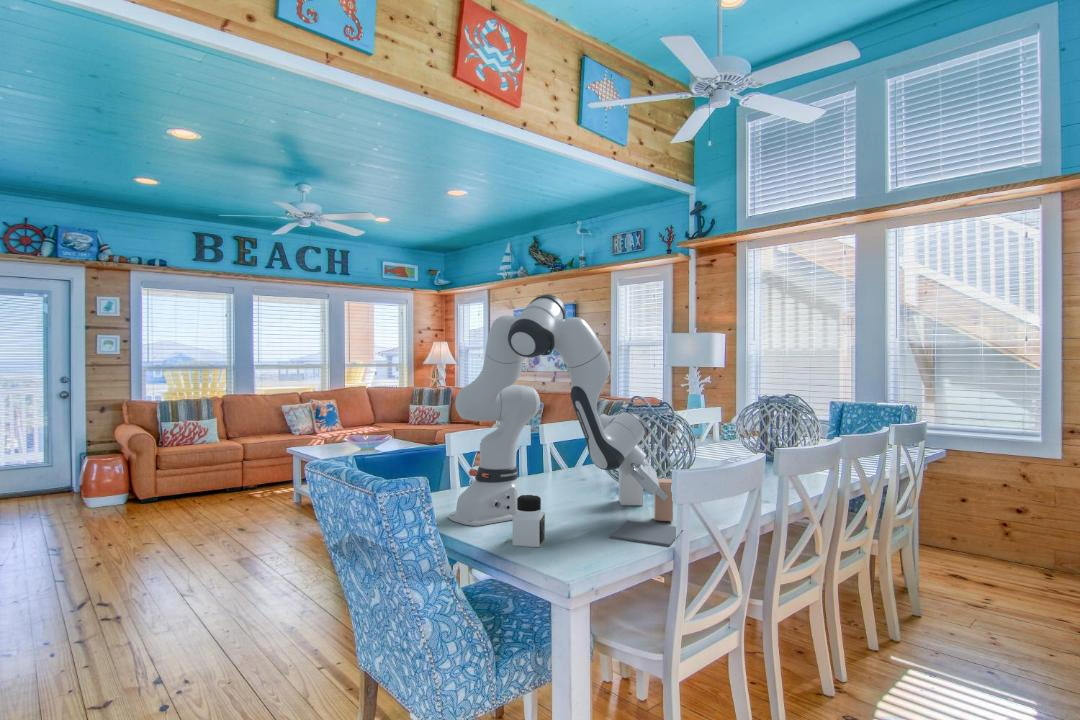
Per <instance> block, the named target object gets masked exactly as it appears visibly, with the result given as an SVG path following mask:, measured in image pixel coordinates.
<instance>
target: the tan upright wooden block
mask: <svg viewBox="0 0 1080 720" xmlns="http://www.w3.org/2000/svg"><path fill="white" fill-rule="evenodd" d="M672 481H673V479H672V478H658V482H659V487H660V488H661V489H662V490H663V491H664V492H665V493H666V494H667V495H668V498H667V499H666V500H662V498H661V497H659V496H658V495H657V494H655V493H653V494H654V495H653V496H654V497H653V498H654V499H653V501H654V503H653V504H654V505H653V507H654V508H653V509H654V510H653V511H654V513H653V516H654V521H658V520H660V521H668V522H673V521H674V520H673V518H674V517H673V515H674V511H673V510H674V506H673V505H674V500H673V501H672V492H671V484H672ZM660 521H659V522H660Z"/></svg>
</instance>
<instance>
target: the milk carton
mask: <svg viewBox="0 0 1080 720" xmlns="http://www.w3.org/2000/svg"><path fill="white" fill-rule="evenodd" d="M637 446H638V447H639V448H640V449H641V450H642V451H643V445H642V444H637ZM618 501H619V504H620V505H621V506H644V488H643V487H642V486H641V485H640V484H639V483H638V482H637V481H636V479H635V478H634V477H632V476H631V475H630V474H628V475H626V476H625V475H624V474H623V473H622V472H621V471H620V470H619V469H618Z"/></svg>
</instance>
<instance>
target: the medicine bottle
mask: <svg viewBox="0 0 1080 720" xmlns="http://www.w3.org/2000/svg"><path fill="white" fill-rule="evenodd" d="M541 502H542V498H541V497H540V496H538V495H537V494H530V493H527V494H522V495H520V496H519V495H518V498H517V514H516V515H515V516H514V517H513V520H512V546H513V547H527V548H540V547H541V546H542V544H543V542H544V541H545V539H546V537H545V534H546V533H545V532H546V530H545V527H546V526H545V524H546V522H545V521H546V520H545V519H546V513H545V511H541V510H542V509H541V507H542V506H541V505H542V503H541Z"/></svg>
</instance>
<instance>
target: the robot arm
mask: <svg viewBox="0 0 1080 720" xmlns="http://www.w3.org/2000/svg"><path fill="white" fill-rule="evenodd" d="M566 311H567V310H566V306H565V304H564V303H563V301H562V300H561V299H560V298H559V297H557V296H555V295H553V294H549V293H548V294H542V295H539V296H537V297H536V298H534V299H533V300H532V301H530V302H529V303H528V304H527V306H526V307H525V308H524V309H523V310H522V311H521V312H520V314H519V315H518V316H513V315H501V316H499V317H497V318H496V319H495V320H494V321H493V322H492V324H491V327H490V329H489V332H488V336H487V340H486V345H485V353H484V354H485V355H484V359H483V364H482V365H483V366H482V369H481V371H480V373H479V374H478V376H477V377H476V378H475V379H474V380H473V381H472V382H470V383H469V384H467V385H466V386H463V387H462V388H460V389H459V391H458V393H457V394H456V397H455V400H454V401H455V409H456V412H457V414H458V416H459V417H460V418H461V419H463V420H468V421H473V422H499V425H498V427H497V428H496V429H495V430H494V431H491V432H489V433H487V434H486V435H485V436H484V437H483V438H482V439H481V440H480V442H479V466H478V468H477V470H476V469H474V468H470V469H469V470H468V475H469V476H471V477H474V480H473V481H472V483H471V484H469V486H468V487H467V488H466V489H465V490H464V491H463V492H462V493H461V494H459V496H458V497H457V500H456V506H455V507H456V509H455V511H451V512H449V513H448V519H449V520H451V521H453V522H455V523H458V524H460V525H461V524H462V525H466V526H472V527H473V526H475V527H478V526H484V525H490V524H496V523H502V522H506V521H507V522H508V521H511V520H512V521H513V517H514V516H515V515H516V514H517V498H518V497H519V491H518V484H517V479H518V477H519V476H518V473H519V472H518V471H519V470H518V466H517V451H518V450H517V449H518V441H519V438H520V434H521V433H522V431H523V429H524V428H525V426H526V425H527V424H528V423H529V421H531V420H532V419H533V418H534V417H536V415H537V414H538V413H539V410H540V407H541V398H540V395H539V393H538V391H537V390H536V389H535V388H534V387H532V386H527V385H524V384H515V383H516V382H517V381H518V380H519V379H520V377H521V376H522V372H523V366H524V365H523V364H524V358H536V357H540V356H548V355H550V354H551V353H552V352H553V351H555V352H557V353H558V354H559V356H560V357H561V359H562V361H563V362H564V364H565V366H566V369H567V371H568V373H569V379H570V383H571V386H570V387H571V388H570V400H571V402H572V403H571V404H572V407H573V410H574V411H575V415H576V417H577V420H578V423H579V426H580V428H581V430H582V433H583V436H584V439H585V441H586V445H587V447H586V448H587V452H588V455H589V456H588V457H589V458H590V460H591V462H592V463H593V465H595V466H596V467H597V468H599V469H600V470H604V471H613V470H614V471H615V470H618V471H619V470H620V471H621V472H622V473H623V474H624V475H625V476H626V475H628V474H630V475H631V476H632V477H634V478H635V479H636V481H637V482H638V483H639V484H640V485H641V486H642V487H643V490H644V491H645V492H646V493H648V494H649V495H653V494H654V493H655V494H657V495H658V496H659V497H661V498H662V500H666V499H667V498H668V495H667V494H666V493H665V492H664V491H663V490H662V489H661V488H660V487H659V482H658V479H659V478H658V474H657V471H656V470H655V469H654V467H653V466H652V464H650V463H649V461H648V460H647V459H646V458H647V453H645V451H644V450H643V449H642V450H641V449H640V448H639V447H638V446H637V445H639V443H640V442H641V441H642V440H643V438H644V436H645V435H646V427H645V423H644V422H643V420H642V418H640V417H639V416H638V415H637V414H635V413H634V412H630V411H622V412H621V413H618V414H615V415H608V414H606V413H602V414H600V415H599V414H598V408H597V405H598V401H599V398H600V397H599V396H600V394H601V392H602V389H604V385H605V384H606V382H607V380H608V378H609V375H610V370H611V363H610V359H609V357H608V356H609V355H608V354H607V352H606V350H605V348H604V347H603V345H602V343H601V341H600V340H599V338H598V336H597V335H596V333H595V332H594V330H593V329H592V328H591V327H590V325H589V324H588V322H587V321H585V319H583V318H581V317H578V316H577V317H576V316H575V317H574V316H573V317H568V318H566V315H567V314H566V313H567V312H566Z"/></svg>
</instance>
